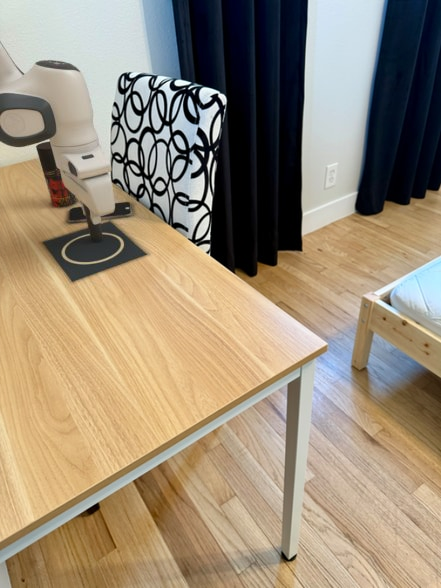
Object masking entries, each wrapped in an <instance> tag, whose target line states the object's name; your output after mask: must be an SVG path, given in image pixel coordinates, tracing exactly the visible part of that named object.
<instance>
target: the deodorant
mask: <svg viewBox="0 0 441 588" xmlns="http://www.w3.org/2000/svg"><path fill="white" fill-rule="evenodd" d="M35 148H36V149H35V150H36V151H37V152H36V153H37V155H38V160H39V162H40V165H41V169H42V173H43V176H44V180H45V183H46V186H47V187H46V188H47V190H48V193H49V198H50V201H51V204H52V206H53V207H54V208H58V209H63V208H68V207H72V206H73V205H75V204H76V203H77V199H76V198H77V197H76V196H75V195H74V194H73V193H72V192H70V191H69V190H68V189H67V188H66V187H65V186H64V183H63V181H62V177H61V173H60V169H58V168H57V166H56V162H55V159H54V155H53V151H52V147H51V144H50V140H49V141H43V142H39V143H37V144H36V146H35Z"/></svg>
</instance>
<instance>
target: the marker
mask: <svg viewBox="0 0 441 588" xmlns="http://www.w3.org/2000/svg"><path fill="white" fill-rule="evenodd" d="M83 207H84V211H85V215H86V220H87V222H86V223H87V228H89V233H90V237H91V241H92V242H94V243H98V242H101V241H103V234H102V230H101V225H100V224H101V223H99V224H96V225H95V224H93V223H92V222H91V219H90V216H89V215H90V210H89V208H88V207H87V206H86V205H85V204H84V203H83Z"/></svg>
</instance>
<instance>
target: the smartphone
mask: <svg viewBox="0 0 441 588" xmlns="http://www.w3.org/2000/svg"><path fill="white" fill-rule="evenodd" d="M132 215H133V211H132V203H131V202H129V201H123V202H115V209H114V212H113V213H110V214H107V215H104V216H100V217H101V221H104V220H105V221H107V220H115V219H124V218H129V217H130V218H131V216H132ZM67 221H68V223H70V224H77V223H87V220H86V216H85V215H84V213H83V209H82V207H81V206H76V207H71V208H70V210H69V212H68V217H67Z"/></svg>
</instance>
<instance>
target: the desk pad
mask: <svg viewBox="0 0 441 588" xmlns="http://www.w3.org/2000/svg"><path fill="white" fill-rule="evenodd" d="M100 225H101V230H102V234H103V241H101V242H98V243H94V242H92V241H91V237H90V233H89V228H88V227H87V228H83V229H80V230H77V231H73V232H70V233H67V234H64V235H60V236H58V237H54V238H51V239H48V240H45V241H42V244H43V245H44V247H45V248H46V249H47V250H48V252H49V253H50V255H51V256H52V257H53V258H54V259H55V262H56V263H57V264H59V266H60V267H61V269H62V270H63V271H64V272H65V274H66V275H67V277H68V278H69V280H70V281H71V282H73V283H74V282H76V281H79V280H81V279H82V280H83V279H84V278H87V277H90V276H93V275H96V274H98V273H100V272H101V273H102V272H103V271H107V270H109V269H111V268H114V267H118V266H120V265H123V264H125V263H128V262H130V261H134V260H136V259H139V258H142V257H144V256H147V255H148V253H146V251H144V250H143V249H142V248H141V247H140V246H139V245H138V244H136V243H135V242H134V241H133V240H132V239H131V238H130V237H128V236H127V234H125V233H124V232H123V231H122V230H121V229H119V228H118V227H117V226H116V225H115V224H114V223H113V222H112V221H110V220H109V221H106V222H103V223H102V222H101V223H100Z"/></svg>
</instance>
